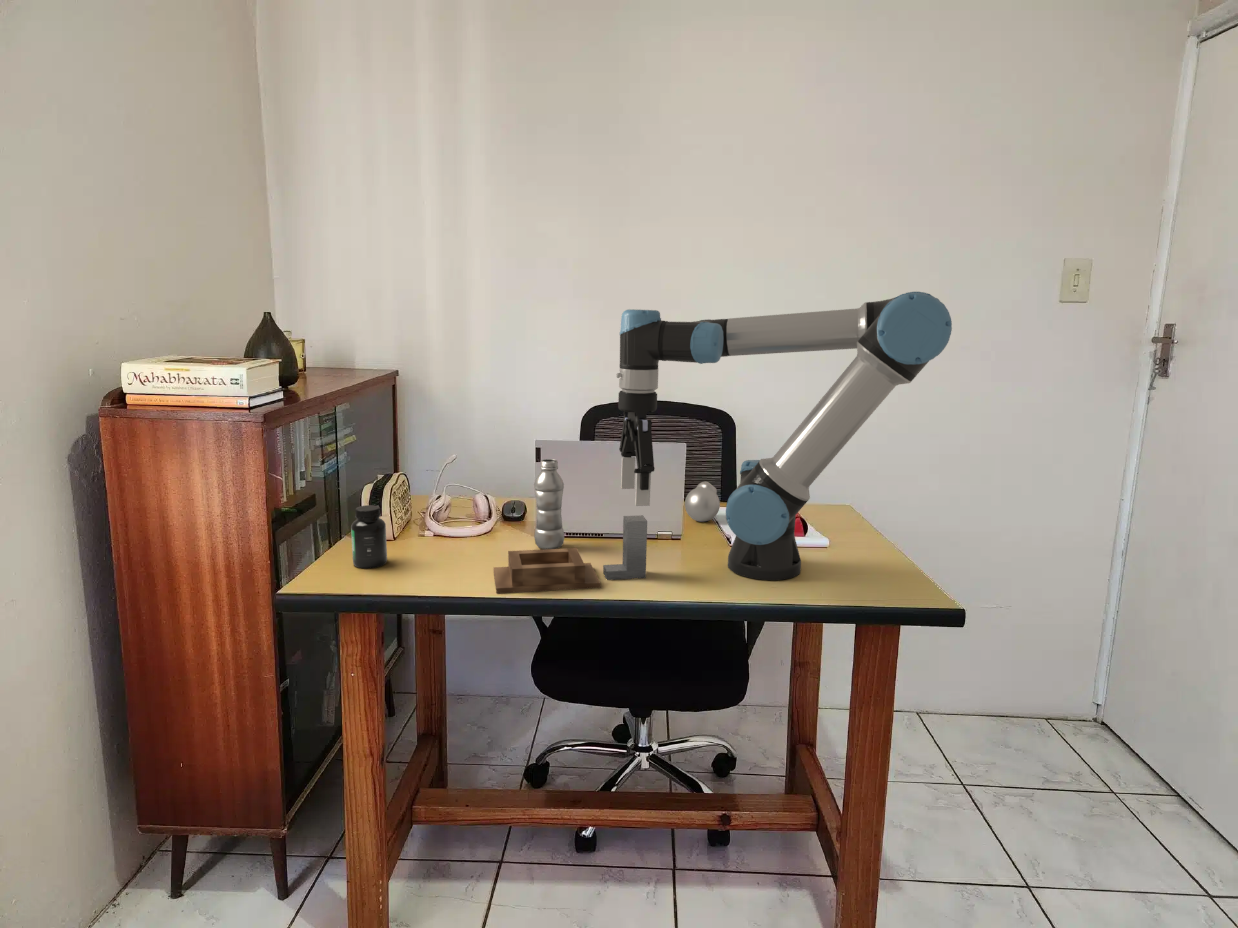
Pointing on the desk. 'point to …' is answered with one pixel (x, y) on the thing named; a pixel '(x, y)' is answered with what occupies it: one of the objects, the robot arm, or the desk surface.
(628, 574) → the bracket
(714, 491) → the silver pear shape
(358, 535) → the supplement bottle
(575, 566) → the well
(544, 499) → the plastic bottle
